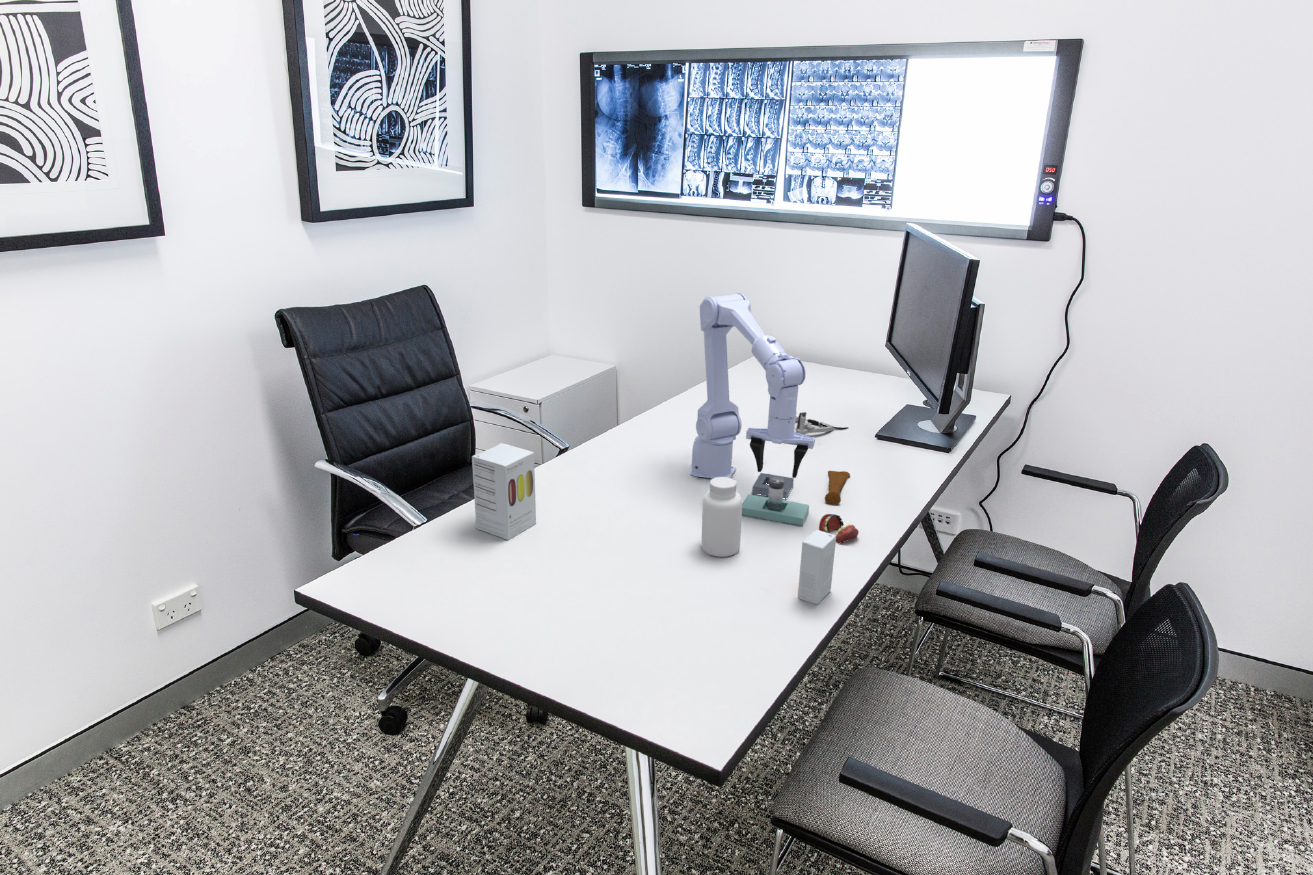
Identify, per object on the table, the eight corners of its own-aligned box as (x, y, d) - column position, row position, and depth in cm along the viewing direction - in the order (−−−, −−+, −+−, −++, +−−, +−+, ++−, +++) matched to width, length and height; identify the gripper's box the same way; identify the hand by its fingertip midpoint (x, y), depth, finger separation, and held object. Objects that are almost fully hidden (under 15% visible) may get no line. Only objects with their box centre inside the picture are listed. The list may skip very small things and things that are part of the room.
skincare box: (810, 583, 162) (816, 528, 157) (831, 591, 160) (837, 535, 155) (796, 598, 157) (801, 541, 153) (817, 605, 155) (823, 548, 150)
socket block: (752, 493, 197) (752, 486, 196) (760, 480, 204) (760, 472, 203) (786, 499, 195) (786, 492, 194) (793, 485, 202) (793, 478, 201)
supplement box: (508, 541, 175) (504, 466, 168) (474, 529, 179) (469, 456, 173) (537, 523, 182) (535, 451, 176) (505, 511, 187) (501, 441, 180)
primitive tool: (827, 472, 211) (829, 459, 209) (850, 474, 209) (851, 461, 208) (823, 506, 193) (825, 492, 192) (848, 509, 192) (849, 495, 191)
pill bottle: (698, 539, 177) (701, 473, 171) (736, 538, 178) (740, 473, 172) (703, 558, 170) (706, 491, 164) (742, 557, 170) (747, 490, 165)
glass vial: (765, 514, 187) (768, 481, 184) (768, 508, 190) (770, 475, 187) (780, 516, 186) (783, 483, 183) (782, 510, 189) (785, 477, 186)
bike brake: (802, 443, 224) (847, 436, 238) (806, 418, 223) (851, 413, 236) (763, 429, 234) (808, 423, 247) (767, 405, 232) (812, 400, 245)
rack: (739, 515, 187) (740, 507, 186) (747, 502, 193) (747, 494, 192) (802, 526, 183) (803, 518, 182) (808, 512, 189) (809, 504, 188)
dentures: (844, 528, 174) (817, 513, 180) (842, 547, 175) (815, 531, 182) (863, 523, 177) (836, 508, 183) (861, 541, 178) (833, 525, 185)
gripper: (744, 416, 178) (740, 474, 183) (812, 426, 174) (806, 486, 179) (752, 405, 184) (748, 462, 189) (818, 414, 180) (813, 473, 185)
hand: (777, 473), depth 185 cm, fingers open, 7 cm apart
